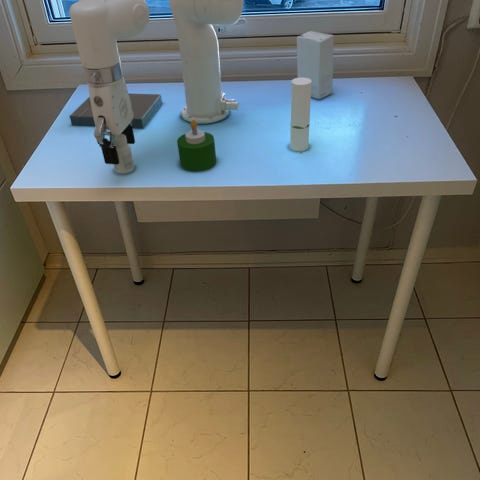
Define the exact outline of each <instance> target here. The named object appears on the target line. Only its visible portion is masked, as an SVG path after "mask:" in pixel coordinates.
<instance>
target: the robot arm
mask: <svg viewBox="0 0 480 480" xmlns="http://www.w3.org/2000/svg"><path fill="white" fill-rule="evenodd" d="M168 2H169V9H170V12H171V14H172V17H173V21H174V25H175V29H176V34H177V41H178V47H179V48H178V49H179V56H180V64H181V71H182V80H183V81H182V82H183V88H184V97H185V106H184V107H183V108H182V109H181V112H180V114H181V118H182V119H183V120H184V121H186V122H187V123H191V121H192V120H195V121H196V122H197V125H198V124H201V125H202V124H212V123H216V122H220V121H223V120H224V119H225V118H227V116H228V115H229V114H230V111H239V107H240V106H239V105H240V104H239V102H237V100H236V99H233V98H232V99H228V98H227V97H226V93H225V92H223V90H222V78H221V75H222V74H221V64H220V63H221V62H220V49H219V40H218V35H217V33H216V31H215V29H214V26H219V27H220V26H222V27H230V26H233V25H235V24H237V23H238V21H239V20H240V18H241V16H242V14H243V9H244V8H243V7H244V0H168ZM150 13H151V12H150V8H149V5H148V3H147V1H146V0H78V1H76V2H75V3H73V4H72V5H71V6H70V7H69V17H70V22H71V25H72V30H73V34H74V38H75V43H76V47H77V51H78V55H79V59H80V63H81V67H82V71H83V76H84V80H85V84H86V85H87V86H88V95H89V97H90V102H91V108H92V113H93V118H94V122H95V126H94V127H95V128H94V132H93V136H94V138H95V139H96V142H97V144H98V145H99V147H100V148H101V152H102V156H103V161H104V163H105V165H114V164H117V165H118V164H119V157H118V153H117V148H116V146H114V137H115V135H120V134H124V135H125V136H126V139H127V144H129V145H134V144H135V143H136V138H135V134H134V133H135V132H134V128H132V119H133V111H132V106H131V102H130V98H129V94H128V93H129V90H128V87H127V82H126V80H125V78H124V74H123V68H122V63H121V58H120V53H119V47H118V42H117V41H118V40H121V39H126V38H132V37H133V38H134V37H136V36H138V35H141V34H142V33H143V32H144V31H145V30H146V29H147V28H148V25H149V23H150V19H151V18H150V17H151V15H150ZM105 136H106V137H107V136H108V137H109V139H108V138H106V137H105Z"/></svg>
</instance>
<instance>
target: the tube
mask: <svg viewBox="0 0 480 480" xmlns="http://www.w3.org/2000/svg"><path fill="white" fill-rule="evenodd" d="M290 83H291V85H290V87H291V90H290V130H289V131H290V135H289V136H290V137H289V138H290V139H289V148H290V150H292V151H294V152H304V151H307V150H308V149H309V145H310V141H309V140H310V120H311V117H310V116H311V101H312V97H311V79H309V78H304V77H300V78H297V77H295V78H293V79H292V80H291V82H290Z"/></svg>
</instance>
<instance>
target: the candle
mask: <svg viewBox="0 0 480 480" xmlns="http://www.w3.org/2000/svg"><path fill="white" fill-rule="evenodd" d="M190 129H191V130H188V131H186V133H183V134H181V135H180V136H179V137H178V138H177V139H176V140H177V141H176V143H177V151H178V159H179V164H180V167H181V168H182V169H183V170H185V171H188V172H204V171H207V170H210V169H212V168H214V166H215V165H216V163H217V155H216V144H215V137H214V135H213V134H212V133H209V132H207V131H203V130H202V129H198V123H197V122H196V121H195V120H192V121H191V122H190Z"/></svg>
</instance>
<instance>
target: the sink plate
mask: <svg viewBox="0 0 480 480" xmlns="http://www.w3.org/2000/svg"><path fill="white" fill-rule="evenodd" d="M128 94H129V98H130V102H131V106H132V111H133V119H132V128H133V129H144V128H145V127H146V126H147V124H148V123H149V122H150V121H151V119H152V118H153V116H154V115H155V114H156V113H157V111H158V110H159V108H160V107H161V106H162V104H163V99H162V94H159V93H158V94H157V93H130V92H128ZM69 120H70V123H71V126H77V127H78V126H79V127H80V126H81V127H96V126H95V122H94V118H93V113H92V108H91V102H90V96H88V97H87V98H86V99H85V100H84V101H83V102H82V103H81V104H80V105H79V106H78V107H77V108H76V109H75V110H74V111H73V112H72V113H71V114H70V115H69Z"/></svg>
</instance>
